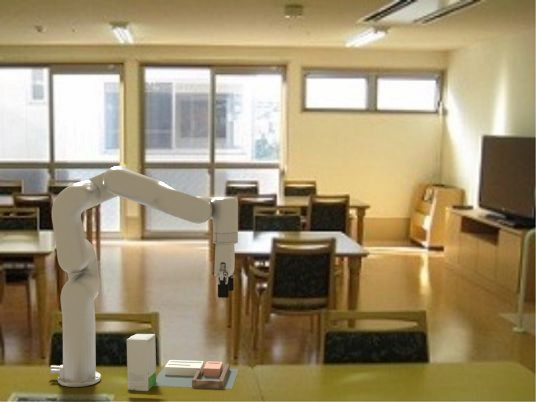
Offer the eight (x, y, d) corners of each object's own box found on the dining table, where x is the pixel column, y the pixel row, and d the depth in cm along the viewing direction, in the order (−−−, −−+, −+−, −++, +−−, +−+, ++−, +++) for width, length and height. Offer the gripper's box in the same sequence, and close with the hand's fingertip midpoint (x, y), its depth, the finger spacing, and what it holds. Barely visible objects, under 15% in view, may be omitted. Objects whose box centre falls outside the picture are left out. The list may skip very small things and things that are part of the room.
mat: (150, 389, 204) (150, 385, 204) (163, 369, 222) (163, 366, 222) (232, 392, 202) (232, 388, 202) (238, 372, 220) (238, 368, 220)
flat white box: (164, 374, 214) (164, 366, 214) (169, 367, 221) (169, 359, 221) (200, 376, 213) (200, 367, 213) (203, 368, 220) (203, 360, 220)
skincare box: (147, 393, 200) (147, 340, 199) (125, 392, 201) (125, 339, 200) (157, 384, 208) (156, 333, 207) (136, 383, 209) (135, 332, 208)
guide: (192, 386, 204) (192, 380, 203) (201, 368, 220) (201, 362, 220) (222, 387, 203) (222, 381, 203) (229, 369, 219) (229, 363, 219)
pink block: (203, 376, 213) (203, 367, 213) (206, 368, 220) (207, 360, 220) (219, 376, 213) (219, 368, 212) (222, 369, 220) (222, 361, 219)
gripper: (217, 234, 219) (218, 287, 220) (208, 241, 202) (208, 300, 203) (241, 234, 218) (241, 288, 219) (233, 242, 201) (234, 300, 202)
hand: (225, 293), depth 211 cm, fingers open, 9 cm apart
